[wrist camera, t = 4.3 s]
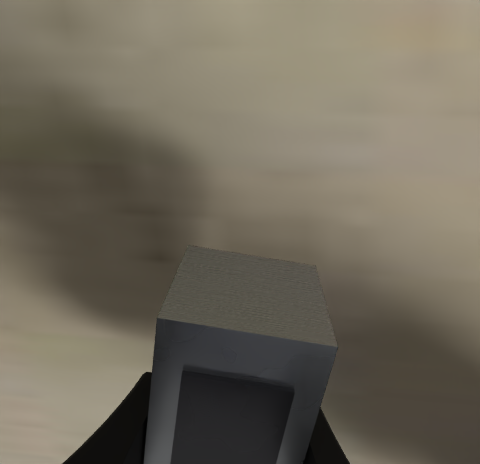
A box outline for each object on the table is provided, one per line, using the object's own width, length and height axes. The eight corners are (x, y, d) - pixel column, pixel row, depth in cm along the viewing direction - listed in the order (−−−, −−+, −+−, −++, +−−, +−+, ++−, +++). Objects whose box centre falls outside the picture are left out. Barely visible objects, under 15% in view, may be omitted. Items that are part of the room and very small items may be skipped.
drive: (315, 265, 12) (339, 351, 9) (264, 468, 16) (265, 595, 12) (188, 244, 12) (155, 321, 9) (164, 452, 16) (132, 575, 12)
